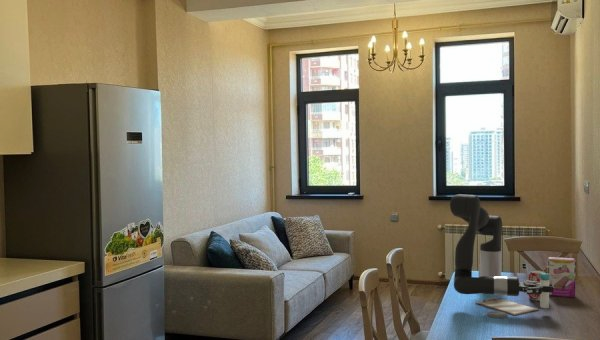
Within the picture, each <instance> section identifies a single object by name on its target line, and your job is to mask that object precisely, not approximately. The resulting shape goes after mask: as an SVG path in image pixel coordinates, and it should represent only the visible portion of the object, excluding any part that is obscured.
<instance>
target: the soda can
mask: <svg viewBox="0 0 600 340" xmlns="http://www.w3.org/2000/svg"><path fill="white" fill-rule="evenodd" d="M540 273H546V272H545V271H544V270H540V269H539V270H537V269H533V270H530V273H529V275H528V280H530V281H538V282H539V283H540ZM528 298H529V299H531V301H535V302H540V294H530V295H528Z"/></svg>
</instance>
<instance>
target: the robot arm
mask: <svg viewBox="0 0 600 340" xmlns="http://www.w3.org/2000/svg"><path fill="white" fill-rule="evenodd" d="M449 210H450V211H451V214H452V215H453V216H454V217H456V218H459V219H462V220H463V221H465V222H466V223H467V224H468V226H467V228H466V230H465V232H463V235H462V236H461V237H460V238H459V240H458V242H457V244H456V246H455V251H454V252H455V254H454V255H455V257H454V266H455V267H454V268H455V269H454V277H453V288H454V290H455V291H456V292H457V293H458V294H462V295H478V294H479V295H480V294H482V295H495V296H503V297H504V296H509V297H519V295H520V293H521V292H522V293H524V294H526V295H528V296H529V295H530V294H542V293H543V292H554V288H553V287H552V284H549V286H540V283H539V282H538V281H530V280H529V279H524V280H523V281H520V278H519V277H518V276H504V275H502V237H503V236H502V235H503V231H502V230H503V221H502V220H503V219H502V217H501V216H499V215H489V213H488V211H487V210H486V209H485V208H484V207H483V206H481V200H480V197H479V196H478V195H476V194H475V195H474V194H462V193H458V194H454V195H453V196H452V197H451V199H450V202H449ZM477 233H478V234H479V235H483V236H489V237H490V236H492V239H490V240H488V241H484V242H481V243H480V247H479V248H480V250H479V252H480V253H479V254H480V255H479V257H480V258H479V263H480V264H479V265H478V276H477V277H473V270H472V269H473V267H474V266H473V264H474V249H475V248H474V247H475V241H476V236H477Z"/></svg>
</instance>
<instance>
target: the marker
mask: <svg viewBox="0 0 600 340" xmlns="http://www.w3.org/2000/svg"><path fill="white" fill-rule="evenodd" d="M549 279H550V274H548V273H546V272H545V273H540V286H549ZM539 307H540V308H542V309H549V308H550V296H549V292H543V293H542V294H540V301H539Z"/></svg>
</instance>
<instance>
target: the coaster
mask: <svg viewBox="0 0 600 340" xmlns="http://www.w3.org/2000/svg"><path fill="white" fill-rule="evenodd" d="M485 314H486V316H487V317H489V318H494V319H506V318H508V317H509V314H507V313H505V312H501V311H497V310H490V311H487V312H486V313H485Z"/></svg>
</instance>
